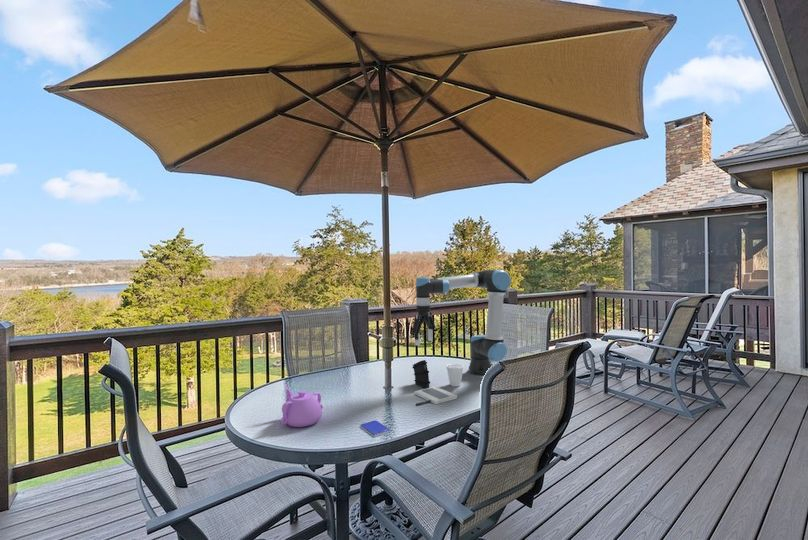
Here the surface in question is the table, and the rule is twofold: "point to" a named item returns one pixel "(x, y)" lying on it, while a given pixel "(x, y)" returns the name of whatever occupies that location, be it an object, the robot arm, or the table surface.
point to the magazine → (421, 374)
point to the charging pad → (435, 395)
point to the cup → (455, 374)
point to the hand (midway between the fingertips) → (424, 343)
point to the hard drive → (375, 428)
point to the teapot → (301, 409)
